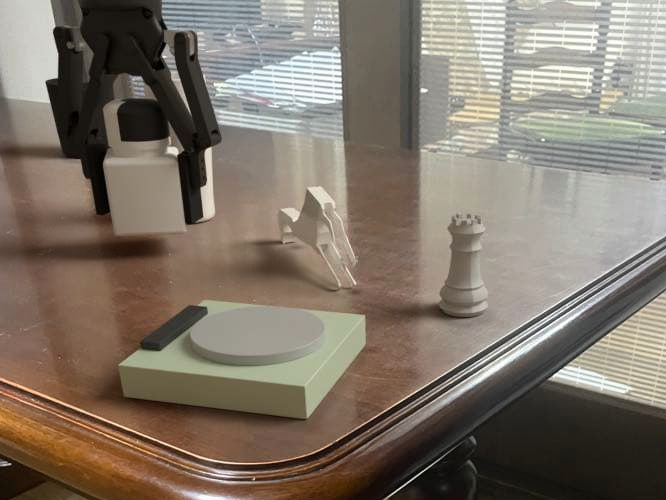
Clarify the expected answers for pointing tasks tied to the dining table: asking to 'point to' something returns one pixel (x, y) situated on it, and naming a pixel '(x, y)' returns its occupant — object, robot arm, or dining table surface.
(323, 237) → the white angular pronged piece
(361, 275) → the dining table surface
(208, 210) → the drinking glass
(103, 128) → the pen holder
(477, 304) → the rook chess piece
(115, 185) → the medicine bottle
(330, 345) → the scale
